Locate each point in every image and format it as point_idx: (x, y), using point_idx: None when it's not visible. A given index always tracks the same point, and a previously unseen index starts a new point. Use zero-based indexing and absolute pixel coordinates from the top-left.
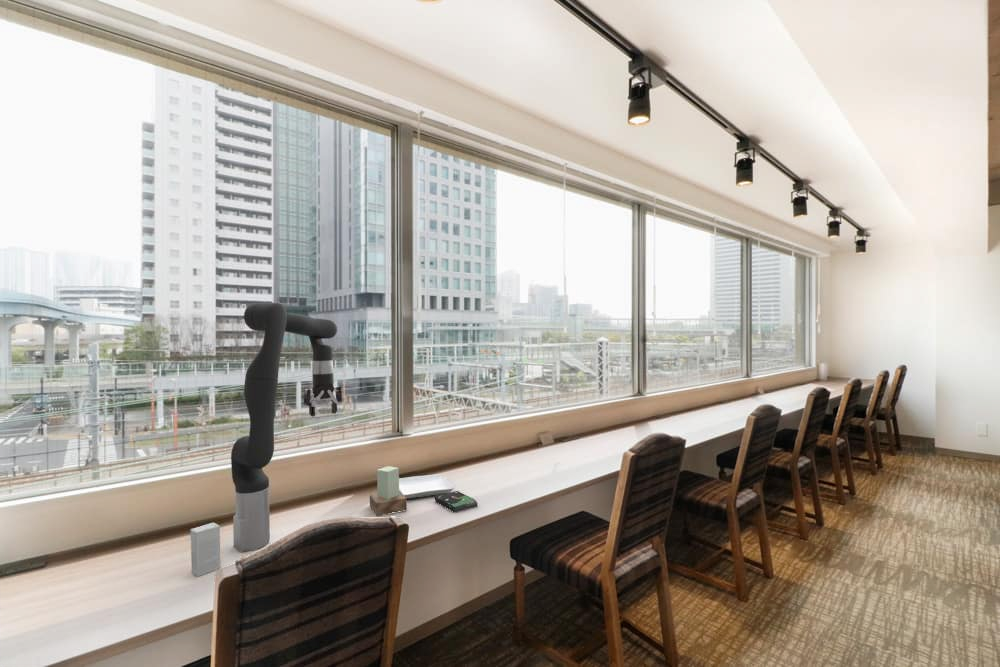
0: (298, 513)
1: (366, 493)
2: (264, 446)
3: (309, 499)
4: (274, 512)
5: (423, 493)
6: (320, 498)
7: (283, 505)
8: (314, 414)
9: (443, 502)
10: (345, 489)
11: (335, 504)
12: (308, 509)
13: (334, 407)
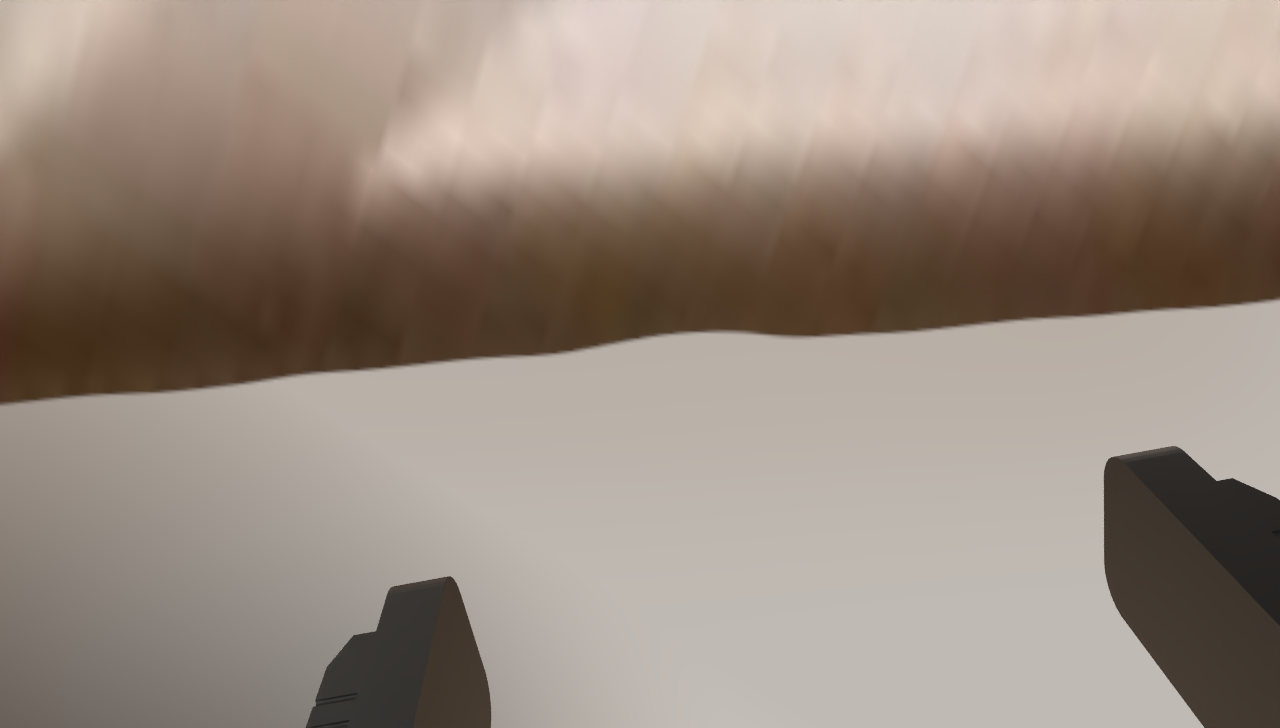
0: (901, 10)
1: (244, 133)
2: None
3: (713, 301)
4: (1032, 171)
5: None
6: (632, 267)
7: (921, 290)
8: (1155, 469)
9: None
10: (385, 360)
11: (574, 23)
12: (802, 55)
13: (413, 701)
